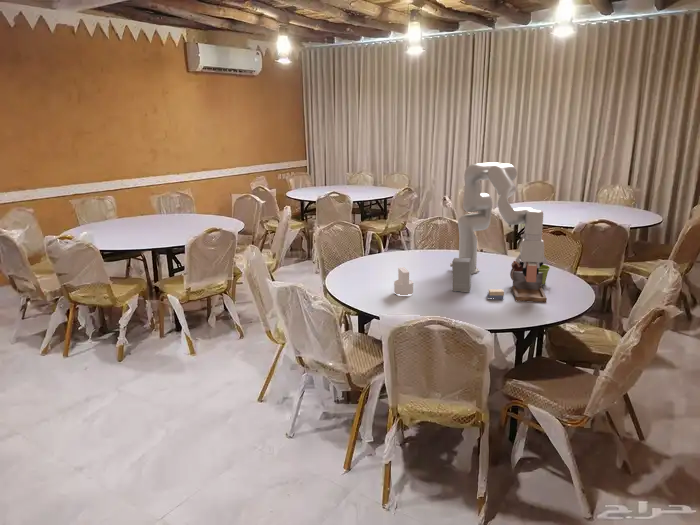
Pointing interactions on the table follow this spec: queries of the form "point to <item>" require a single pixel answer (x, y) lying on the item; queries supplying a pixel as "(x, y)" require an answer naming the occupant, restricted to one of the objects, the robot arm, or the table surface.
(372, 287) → the table surface
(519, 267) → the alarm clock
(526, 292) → the brown open box
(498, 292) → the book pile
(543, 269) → the plant pot
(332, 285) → the table surface
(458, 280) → the skincare box
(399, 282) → the cylinder with rectangular tab
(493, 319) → the table surface
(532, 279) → the salmon pink block
